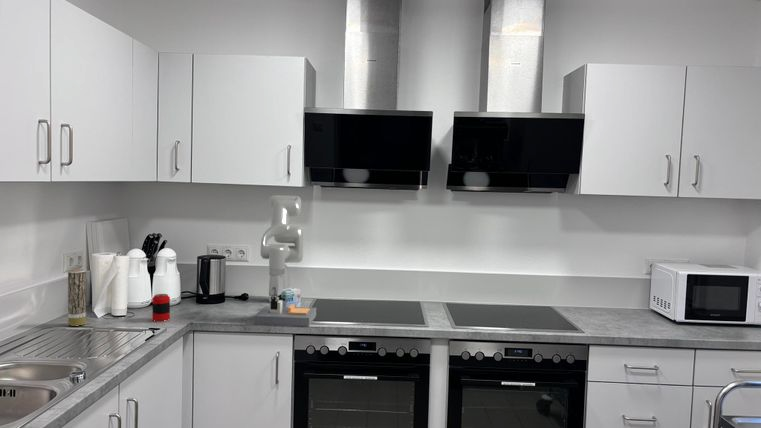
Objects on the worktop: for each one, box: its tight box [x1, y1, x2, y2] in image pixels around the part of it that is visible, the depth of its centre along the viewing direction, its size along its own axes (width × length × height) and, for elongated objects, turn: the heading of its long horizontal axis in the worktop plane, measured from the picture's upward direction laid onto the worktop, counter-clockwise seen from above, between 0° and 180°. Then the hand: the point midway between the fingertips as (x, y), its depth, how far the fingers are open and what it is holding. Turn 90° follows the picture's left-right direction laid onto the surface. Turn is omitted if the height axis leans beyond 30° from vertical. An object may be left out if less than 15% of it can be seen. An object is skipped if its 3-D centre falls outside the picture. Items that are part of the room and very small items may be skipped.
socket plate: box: [253, 305, 317, 327], centre depth 252 cm, size 20×26×4 cm
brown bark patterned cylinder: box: [67, 268, 87, 326], centre depth 233 cm, size 7×7×25 cm
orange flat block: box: [288, 304, 310, 315], centre depth 252 cm, size 9×9×3 cm
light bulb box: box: [282, 287, 302, 307], centre depth 272 cm, size 11×7×11 cm, turn 143°
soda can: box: [151, 293, 171, 321], centre depth 245 cm, size 8×8×12 cm
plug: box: [269, 297, 282, 313], centre depth 252 cm, size 5×5×11 cm
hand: (276, 307), depth 252 cm, fingers open, 8 cm apart
